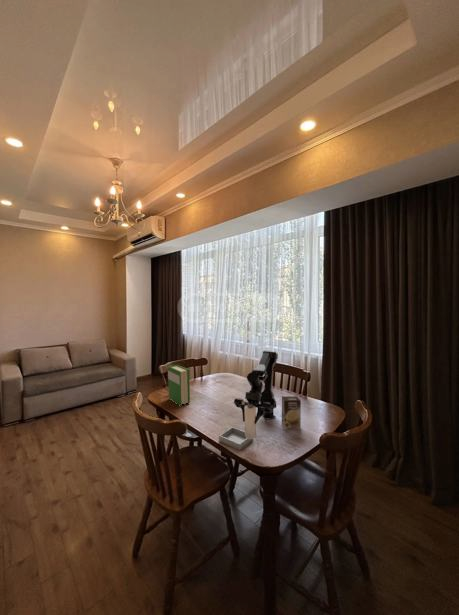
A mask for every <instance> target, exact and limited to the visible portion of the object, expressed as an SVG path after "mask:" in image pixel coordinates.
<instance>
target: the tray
mask: <svg viewBox="0 0 459 615" xmlns="http://www.w3.org/2000/svg"><path fill="white" fill-rule="evenodd" d="M253 441H254V439H248V438H246V437H245V430H242V429H241V428H237V427H235V426H231V427H229V428H228V429H227V430H226V431H224V432H223V433H221V434H219V435H218V443H219V442H220V443H221V444H224V445H226V446H229V447H231V448H233V449H235V450H237V451H240V452H241V451H242V450H243V449H244V448H245V447H246V446H247V445H249V444H250V443H251V442H253Z"/></svg>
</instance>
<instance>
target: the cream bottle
mask: <svg viewBox="0 0 459 615" xmlns="http://www.w3.org/2000/svg"><path fill="white" fill-rule="evenodd" d="M244 409H245V422H244V431H245V437H246V438H248V439H253V440H254V439H255V438H257V423H256V424H255V418H256V415H257V410H256V409H257V408H256V407H255V406H254V405H253V404H252V403H248V405H246V406H245V407H244Z"/></svg>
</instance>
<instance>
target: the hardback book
mask: <svg viewBox="0 0 459 615" xmlns="http://www.w3.org/2000/svg"><path fill="white" fill-rule="evenodd" d="M167 372H168V373H167V381H168V382H167V384H168V399H169V398H170V399H172V400H173V401H174V402H176V403H177V404H178V405H180V406H181V407H182V406H183V405H182V404H184V405H187V404H186V403H190V404H191V399H190V398H191V395H190V394H191V393H190V369H189V368H186V367H184V366H181V365H179V364H173V365H169V366H167ZM178 405H177V406H178Z"/></svg>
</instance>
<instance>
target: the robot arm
mask: <svg viewBox="0 0 459 615" xmlns="http://www.w3.org/2000/svg"><path fill="white" fill-rule="evenodd" d="M278 358H279V355H278V353H277V352H276V351H272V350H263V351H262V356H261V358H260V360H259V363H258V365H257V366H255V367H254V369H253V370H252V371H251V372H249V373H248V374H247V375H246V380H247V382H248V384H249V385H250V389H249V391H246V392H245V400H246V401H244V399H243V398H240V397H235V398H234V400H233V405H235V407H237V408H239V409H240V410H241V412H242V422H244V423H245V409H244V407H245V406H246V405H248V403H252V404H253V405H254V406H255V407H256V409H257V410H256V418H255V424H256V425H257V424H258V422H259V420H260V419H261V417H263V418H265V420H270V419H275V418H277V416H276V415H275V414H274V409H276V408H277V401H276V398H275V394H274V392H273V378H274V366H275V365H276V363H277V362H278ZM262 381H264V383H263V382H262ZM263 389H264V390H263Z"/></svg>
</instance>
